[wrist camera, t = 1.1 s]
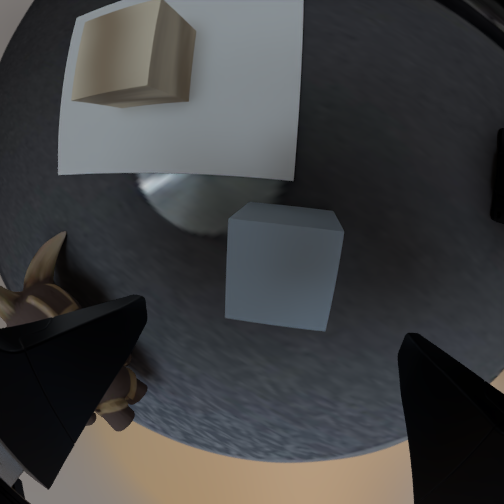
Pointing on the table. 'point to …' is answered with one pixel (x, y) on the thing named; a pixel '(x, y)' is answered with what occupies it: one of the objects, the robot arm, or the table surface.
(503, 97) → the table surface
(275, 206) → the blue block
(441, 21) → the table surface
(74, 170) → the board
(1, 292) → the toy
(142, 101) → the maple block
